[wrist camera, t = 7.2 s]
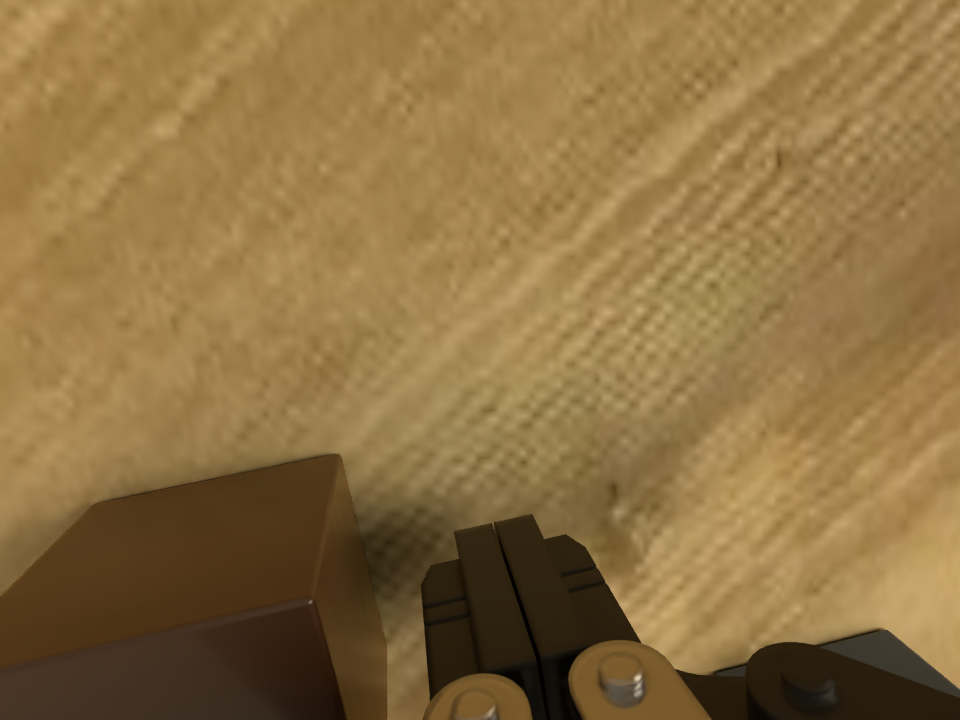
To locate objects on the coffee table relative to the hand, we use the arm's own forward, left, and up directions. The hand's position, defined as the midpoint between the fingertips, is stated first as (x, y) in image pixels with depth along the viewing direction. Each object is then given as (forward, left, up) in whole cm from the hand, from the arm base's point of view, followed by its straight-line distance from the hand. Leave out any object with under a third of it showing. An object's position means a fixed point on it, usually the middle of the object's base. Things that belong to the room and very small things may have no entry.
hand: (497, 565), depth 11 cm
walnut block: (0, -5, -1) cm, 5 cm away
